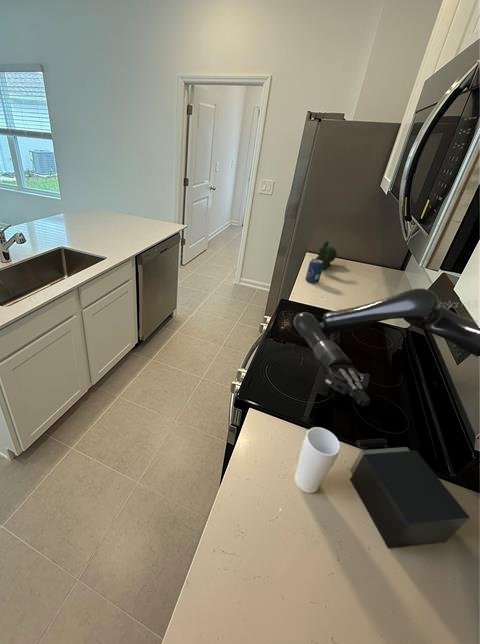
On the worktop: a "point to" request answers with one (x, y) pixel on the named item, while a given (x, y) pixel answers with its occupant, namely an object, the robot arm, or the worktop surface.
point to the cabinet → (406, 499)
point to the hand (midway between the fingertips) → (366, 403)
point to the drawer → (370, 444)
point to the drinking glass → (316, 458)
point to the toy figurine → (326, 255)
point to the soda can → (314, 271)
